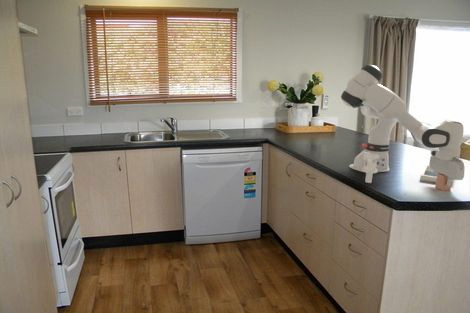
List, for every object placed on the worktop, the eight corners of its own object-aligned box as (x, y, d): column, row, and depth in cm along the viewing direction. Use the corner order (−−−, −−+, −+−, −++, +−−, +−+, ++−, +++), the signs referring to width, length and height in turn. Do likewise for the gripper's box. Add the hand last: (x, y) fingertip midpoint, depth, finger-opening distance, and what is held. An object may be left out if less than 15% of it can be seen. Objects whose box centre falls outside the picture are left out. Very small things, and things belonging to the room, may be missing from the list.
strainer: (360, 179, 181) (363, 150, 177) (375, 180, 179) (378, 151, 175) (361, 183, 174) (364, 153, 170) (376, 184, 172) (380, 154, 168)
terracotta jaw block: (450, 190, 166) (452, 176, 165) (441, 190, 166) (443, 176, 164) (444, 187, 171) (446, 173, 169) (435, 187, 170) (437, 173, 169)
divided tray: (451, 186, 173) (452, 180, 172) (419, 180, 180) (420, 175, 179) (453, 174, 193) (454, 169, 193) (424, 170, 201) (425, 165, 200)
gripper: (470, 160, 155) (465, 190, 158) (441, 150, 174) (436, 177, 178) (457, 160, 154) (451, 190, 157) (428, 150, 174) (424, 177, 177)
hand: (443, 183), depth 168 cm, fingers closed on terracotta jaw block, 4 cm apart
